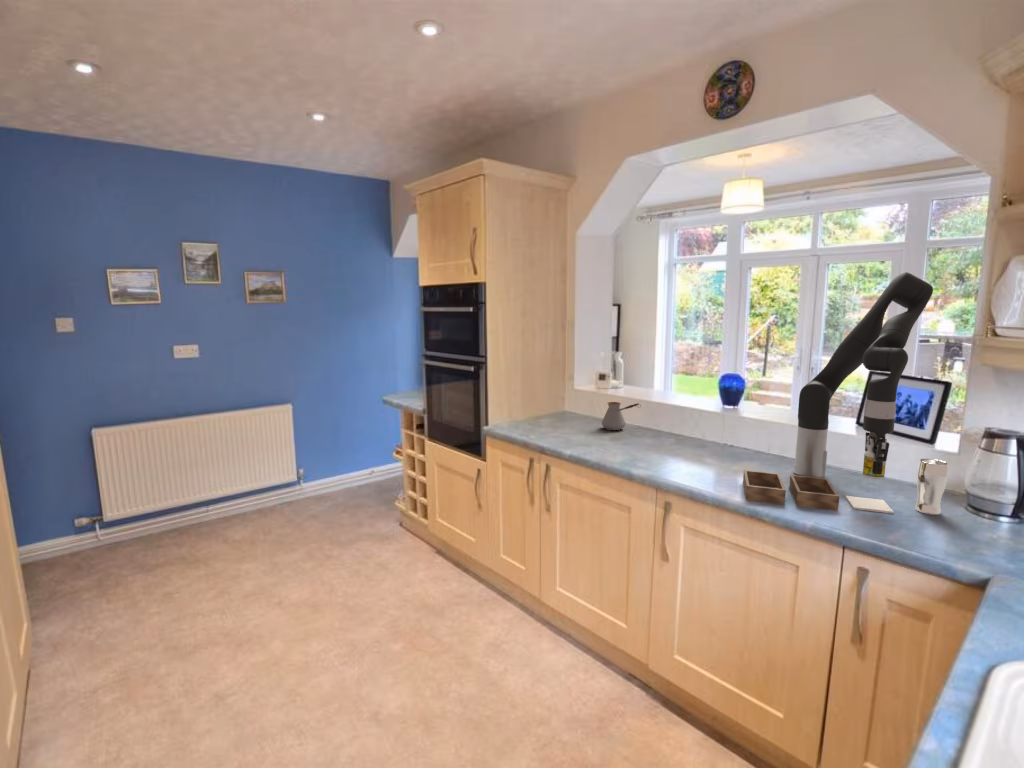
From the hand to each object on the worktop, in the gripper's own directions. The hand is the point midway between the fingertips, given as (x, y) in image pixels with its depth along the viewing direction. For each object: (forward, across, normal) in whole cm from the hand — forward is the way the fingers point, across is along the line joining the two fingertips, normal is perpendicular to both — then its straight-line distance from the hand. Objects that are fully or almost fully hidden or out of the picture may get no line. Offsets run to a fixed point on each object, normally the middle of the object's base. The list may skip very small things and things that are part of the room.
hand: (873, 470), depth 158 cm
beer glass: (+11, 0, -14) cm, 18 cm away
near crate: (+11, 0, +16) cm, 19 cm away
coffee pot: (+11, +70, +85) cm, 110 cm away
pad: (+11, 0, 0) cm, 11 cm away
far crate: (+11, 0, +30) cm, 31 cm away
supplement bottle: (+2, 0, 0) cm, 2 cm away
